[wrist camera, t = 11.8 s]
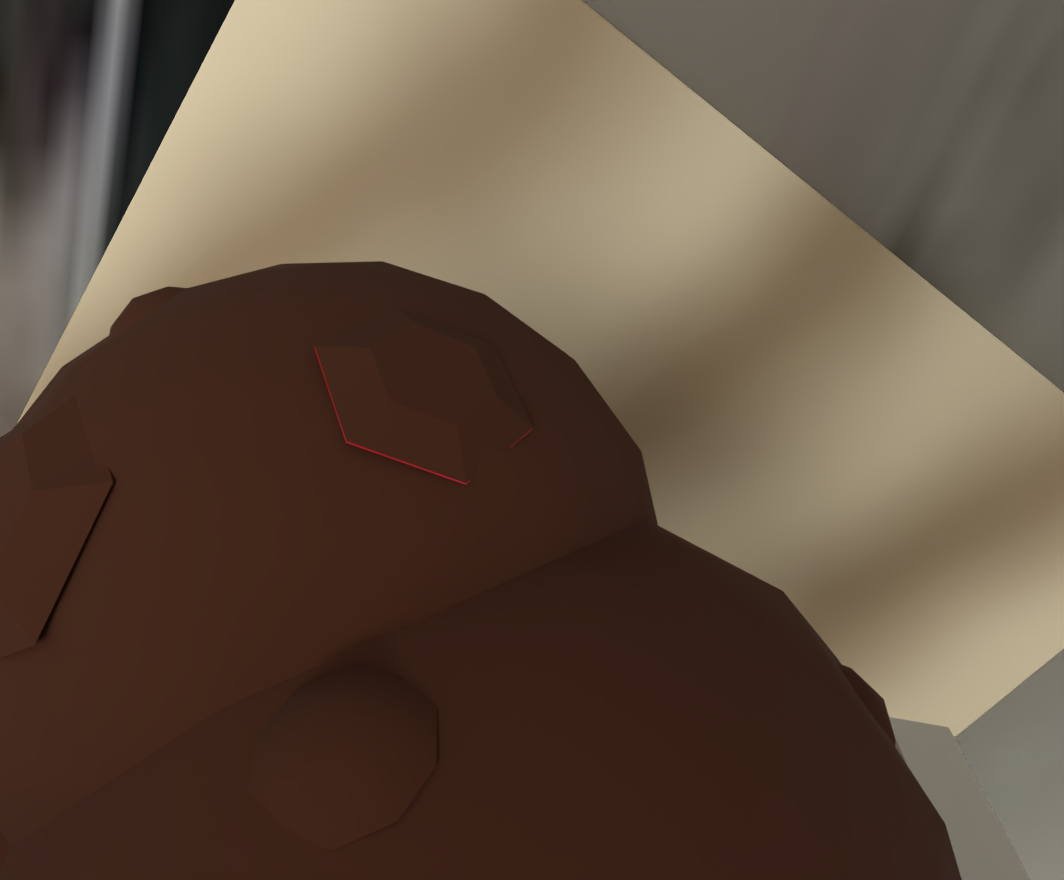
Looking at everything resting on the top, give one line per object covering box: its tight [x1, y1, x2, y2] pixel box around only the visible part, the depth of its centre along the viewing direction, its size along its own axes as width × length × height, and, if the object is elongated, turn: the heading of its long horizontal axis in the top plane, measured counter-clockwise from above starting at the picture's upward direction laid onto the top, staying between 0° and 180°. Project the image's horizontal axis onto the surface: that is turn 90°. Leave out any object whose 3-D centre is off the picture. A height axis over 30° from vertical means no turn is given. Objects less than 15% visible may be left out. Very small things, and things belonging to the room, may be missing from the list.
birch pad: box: [18, 0, 1064, 737], centre depth 18 cm, size 20×17×1 cm
